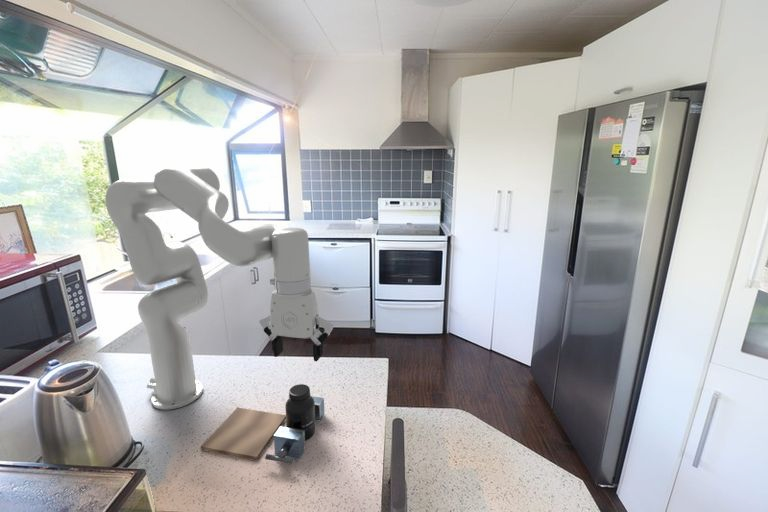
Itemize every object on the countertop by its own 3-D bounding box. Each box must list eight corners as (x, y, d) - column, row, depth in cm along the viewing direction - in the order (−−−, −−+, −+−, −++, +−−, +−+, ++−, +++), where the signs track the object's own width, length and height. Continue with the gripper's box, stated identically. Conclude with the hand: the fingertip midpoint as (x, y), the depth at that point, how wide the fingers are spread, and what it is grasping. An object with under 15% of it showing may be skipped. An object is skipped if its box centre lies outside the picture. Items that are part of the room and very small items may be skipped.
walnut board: (201, 450, 83) (200, 446, 82) (237, 410, 96) (237, 407, 96) (256, 460, 80) (256, 456, 80) (286, 418, 93) (286, 415, 93)
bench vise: (266, 468, 78) (264, 448, 77) (303, 411, 96) (302, 394, 95) (291, 473, 77) (290, 453, 75) (324, 414, 95) (323, 398, 93)
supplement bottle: (309, 445, 84) (306, 400, 81) (282, 441, 86) (278, 396, 83) (320, 425, 91) (318, 383, 88) (294, 421, 92) (292, 379, 89)
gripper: (247, 288, 77) (254, 360, 81) (324, 293, 73) (328, 369, 78) (266, 277, 84) (271, 344, 88) (336, 282, 81) (339, 351, 85)
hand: (298, 356), depth 83 cm, fingers open, 9 cm apart
